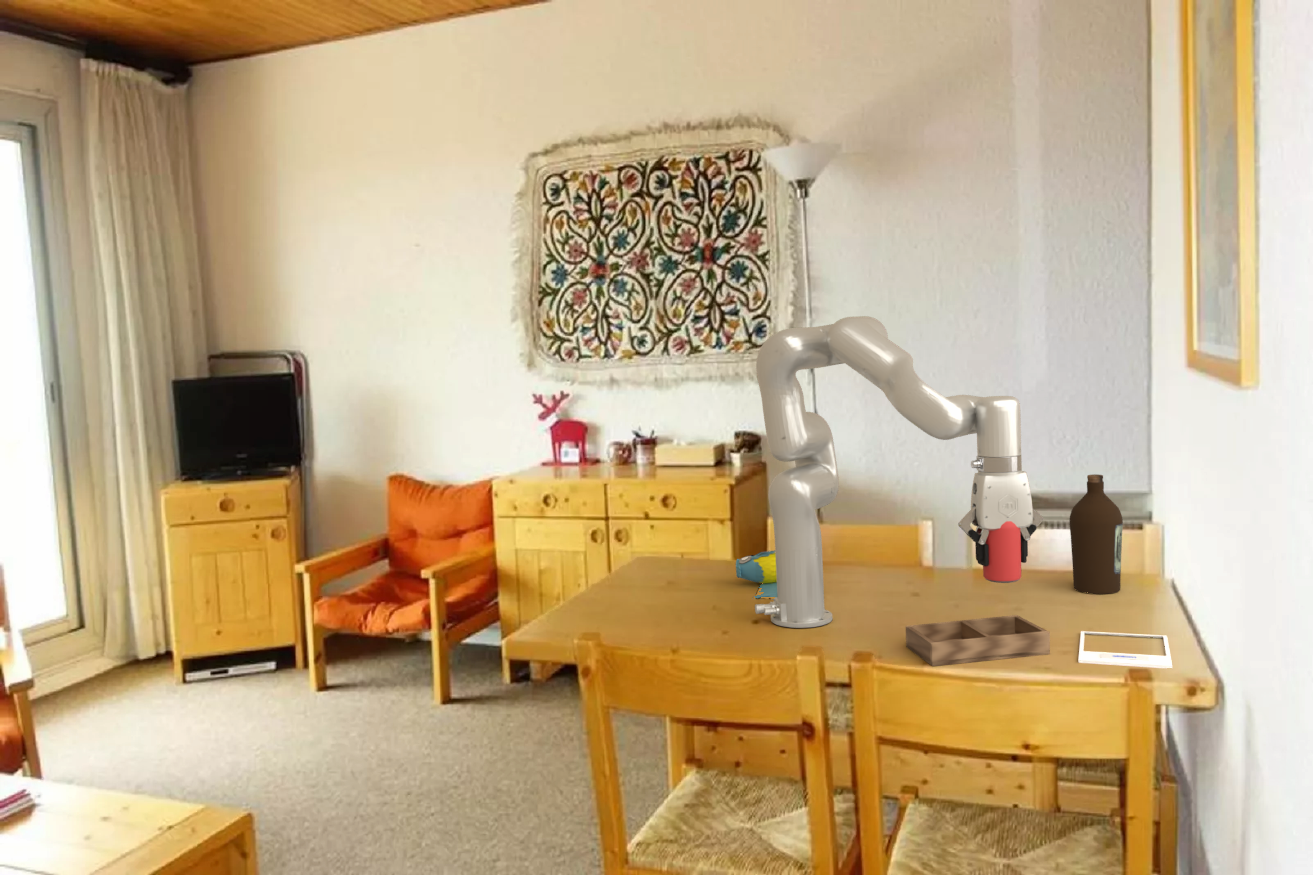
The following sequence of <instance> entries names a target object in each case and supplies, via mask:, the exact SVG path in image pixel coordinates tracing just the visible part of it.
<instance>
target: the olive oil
mask: <svg viewBox="0 0 1313 875" xmlns="http://www.w3.org/2000/svg"><path fill="white" fill-rule="evenodd" d="M1104 486H1105V484H1104V475H1102V474H1096V473H1095V474H1088V475H1087V481H1086V491H1087V492H1086V493H1085V494H1084V496H1082V498H1081V499H1079V500H1078V502H1076V504H1075V505H1074V506H1073V507H1072V509H1071V511H1070V514H1069V531H1070V532H1069V534H1070V546H1071V548H1070V549H1071V559H1072V560H1071V561H1072V580H1073V583H1072V584H1073V589H1074V590H1075V589H1076V590H1075V591H1077V590H1078V591H1077V592H1079V591H1080V592H1079V593H1083V592H1086V593H1085V594H1089V593H1093V594H1092V595H1108V594H1110V595H1111V594H1115V593H1118V592H1120V591H1121V580H1122V579H1121V577H1122V576H1121V574H1122V573H1121V570H1122V548H1123V547H1122V544H1123V528H1124V527H1123V524H1124V523H1123V515H1122V512H1121V509H1119V507H1118V506H1117V504H1115V502H1113V501H1112V500H1111V498H1109V497H1108V496H1107V494H1105V492H1104V490H1105V487H1104ZM1087 592H1088V593H1087Z"/></svg>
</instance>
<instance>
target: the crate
mask: <svg viewBox="0 0 1313 875" xmlns="http://www.w3.org/2000/svg"><path fill="white" fill-rule="evenodd" d="M1050 633H1051V632H1050V631H1048V630H1046V629H1044V628H1043V627H1041V626H1039V625H1037V624H1035V623H1033V622H1031V621H1029V620H1027V619H1025V618H1023V617H1022V616H1019V615H1017V614H1012V615H1004V616H1003V615H1002V616H993V617H983V618H982V617H981V618H974V619H973V618H972V619H963V620H956V621H955V620H953V621H952V620H951V621H943V622H932V623H923V624H913V625H912V624H911V625H905V646H906V648H907V649H908V650H910V651H911V652H913V654H915V655H916V656H918V657H919V658H921V659H922V660H923V661H925V662H926V663H928V664H929V665H930V666H931V667H938V666H940V667H941V666H946V665H950V666H951V665H958V664H967V663H978V662H984V661H985V662H987V661H994V660H1005V659H1015V658H1016V659H1017V658H1025V657H1035V656H1043V655H1045V656H1046V655H1050V654H1051V642H1050V641H1051V640H1050V637H1051V636H1050Z"/></svg>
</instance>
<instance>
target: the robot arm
mask: <svg viewBox="0 0 1313 875" xmlns="http://www.w3.org/2000/svg"><path fill="white" fill-rule="evenodd" d="M843 364H845V365H847V366H848V367H849V368H851V369H852V370H853V371H855V372H857V373H858V374H860V375H861V376H862V377H864V378H865V379H866V380H867V381H869V382H870V383H871V384H873V385H874V386H876V387H877V388H879V389H880V390H881V391H882V392H883V394H884V395H885V397H886V398H887V400H888V402H889V403H890V404H891V406H893V407H894V409H895V410H896V411H897V412H898V413H899V414H900V415H901V416H902V417H903V418H905V420H907V421H909V422H910V423H911V424H913V425H914V426H915V427H917V428H918V429H920V430H921V431H922V432H924V433H925V434H927V435H929V436H930V437H932V438H933V439H936V440H937V439H938V440H942V441H948V440H952V439H953V440H954V439H957V438H959V437H963V436H968V435H973V434H976V444H977V445H976V446H977V447H976V449H977V451H976V452H977V455H976V459H975V460H971V461H970V467H971V468H972V469H976V471H977V472H974V476H973V480H972V487H971V493H970V494H971V497H970V509H969V511H968V512H967V513H966V514H965V515H964V516H963V517H962V518H961V520H960V521H959V522H958V524H957V525H958V527H959V528H961V530H962V531H963V532H964V533H965V534H966V535H967V536H968V537H969V538H970V539H971V540H972V542H974V543H975V544H974V545H975V559H976V561H977V563H978V564H979V565H981V566H982V567H983V566H988V565H989V547H988V545H987V544H986V539H987V537H988V534H989V530H997V529H999V528H1000V527H1001V525H1002V524H1004V523H1005V522H1006V521H1012V522H1013V523H1014V524H1015V525H1016V526H1017V527H1018V528H1020V533H1021V564H1025V563H1026V564H1027V558H1028V556H1029V551H1028V549H1029V548H1028V546H1029V544H1028V543H1029V541H1030V540H1031V536H1032V535H1033V534H1034V533H1035V532H1036V530H1037V528H1038V527H1039V525H1040V524H1041V523H1042V522H1043V521H1044V517H1043V515H1042V514H1040V513H1039V512H1038V511H1037V510H1036V509H1034V507H1033V500H1032V491H1031V486H1030V482H1029V481H1030V480H1029V478H1028V473H1027V471H1025V470H1024V471H1023V470H1022V468H1023V467H1022V462H1023V461H1022V429H1021V428H1022V427H1021V425H1022V424H1021V422H1022V421H1021V403H1020V401H1019V399H1018V398H1017V397H1016V396H1011V395H992V396H990V395H989V396H977V395H969V394H957V395H952V396H944V395H942V394H941V393H940V392H938V391H937V390H935V389H934V388H933V387H931V386H930V385H928V384H927V383H926V382H925V381H924V380H922V379H921V378H920V377H919V375H918V374H917V373H916V371H915V369H914V359H913V356H912V355H911V354H910V353H909V352H908V351H906V350H905V349H903V348H902V347H900V346H898V345H897V344H896V343H894V342H893V341H891V340H890V339H889V335H888V331H887V329H886V327H885V326H884V324H883V322H881V321H880V320H878V319H876V318H874V317H872V316H868V315H867V316H866V315H864V316H863V315H862V316H861V315H860V316H847V317H846V316H845V317H843V318H839V319H838V320H837V321H836V322H834V323H830V324H825V325H819V326H809V327H808V326H807V327H806V326H805V327H803V326H802V327H801V326H800V327H791V328H785V329H782V330H779V331H777V332H774V333H773V334H772V335H770V336H769V337H768V338H767V339H766V340H765V341H764V342H763V343H762V345H761V347H760V349H759V351H758V353H757V355H756V363H755V370H756V375H757V376H756V378H757V382H758V387H759V392H760V397H761V398H760V399H761V403H762V404H761V405H762V413H763V420H764V426H765V433H766V440H767V446H768V449H769V453H770V454H771V456H772V457H773V458H774V459H776V460H777V461H779V462H784V463H791V462H794V463H795V467H792V468H787V469H785V470H783V471H781V472H779V473H778V474H776V475H775V477H773V479H772V481H771V482H770V484H769V487H768V502H769V507H770V513H771V517H772V522H773V533H774V535H773V536H774V550H775V553H776V576H777V597H775V598H774V599H773V601H770V602H769V603H765V604H764V603H760V604H759V603H757V604H754V611H755V614H756V615H759V614H763V615H765V616H767V615H768V616H770V621H771V622H772V623H773V624H774V625H777V626H780V627H785V628H791V629H794V628H795V629H805V628H806V629H808V628H815V627H821V626H825V625H827V624H829V623H831V622H832V621H833V613H832V612H831V611H829V610H828V609H825V593H824V588H825V587H824V565H823V562H824V561H823V543H822V542H823V540H822V531H821V525H820V523H819V519H818V516H817V512H816V510H818V509H821V508H824V507H826V506H829V505H831V503H832V502H833V501H834V500H835V499H836V498H837V495H838V493H839V487H840V481H839V480H840V479H839V478H840V477H839V471H838V464H837V456H836V450H835V445H834V444H835V443H834V439H833V438H834V437H833V433H832V429H831V427H830V425H829V423H828V422H827V421H826V420H825V418H824V417H823V416H822V415H820V414H818V413H817V412H814V411H813V412H812V411H807V410H806V406H805V405H806V404H805V398H804V392H803V388H802V386H801V384H800V381H799V380H798V378H797V376H796V374H797V372H799V371H801V370H811V369H819V368H826V367H830V366H837V365H838V366H839V365H843ZM1007 517H1009V518H1007ZM971 525H973V526H974V527H976V529H973V528H972V526H971Z"/></svg>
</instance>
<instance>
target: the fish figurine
mask: <svg viewBox="0 0 1313 875" xmlns="http://www.w3.org/2000/svg"><path fill="white" fill-rule="evenodd" d="M735 570H736V571H735V572H736V573H735V574H736V577H737V578H738V579H739V578H740V579H743V580H747V581H751V582H754V583H760V584H761V583H763V584H761V585H760V584H759V586H760V587H759V586H758V588H762V589H761V591H759V592H764V593H763V594H761V595H757V596H755V595H754V596H753V597H755V598H757V599H759V598H761V597H777V576H776V553H775V549H774V550H768V551H767V550H766V551H760V552H758V553H756V554H755V555H754V554H751V555H749V554H748V555H746V556H743V557H741V558H737V559H736V561H735Z"/></svg>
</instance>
